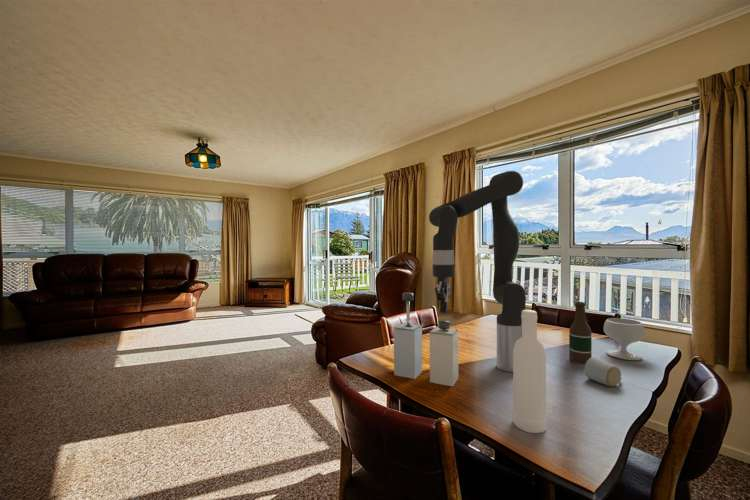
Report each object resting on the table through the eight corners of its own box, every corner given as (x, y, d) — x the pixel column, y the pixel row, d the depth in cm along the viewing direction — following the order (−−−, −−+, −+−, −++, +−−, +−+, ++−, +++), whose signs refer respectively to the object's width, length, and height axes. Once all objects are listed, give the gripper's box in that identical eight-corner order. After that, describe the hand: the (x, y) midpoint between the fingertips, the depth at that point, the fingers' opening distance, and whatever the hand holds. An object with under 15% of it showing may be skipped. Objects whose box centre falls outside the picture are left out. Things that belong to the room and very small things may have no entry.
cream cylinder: (608, 389, 104) (608, 366, 104) (583, 379, 112) (584, 358, 112) (628, 384, 108) (629, 362, 108) (603, 375, 116) (603, 354, 116)
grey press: (422, 371, 120) (422, 324, 120) (414, 379, 113) (414, 329, 113) (402, 367, 124) (402, 322, 124) (394, 375, 117) (393, 327, 117)
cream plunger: (454, 361, 113) (454, 320, 113) (450, 367, 108) (450, 323, 108) (438, 358, 116) (438, 318, 116) (433, 364, 111) (433, 321, 111)
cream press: (458, 377, 114) (458, 329, 114) (452, 386, 107) (452, 334, 107) (436, 373, 118) (436, 326, 117) (429, 382, 111) (429, 331, 110)
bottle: (552, 427, 82) (552, 311, 82) (535, 437, 78) (535, 315, 78) (524, 414, 89) (524, 307, 89) (506, 422, 85) (506, 310, 85)
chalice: (599, 349, 144) (599, 316, 144) (637, 352, 139) (637, 318, 139) (609, 359, 131) (609, 323, 131) (651, 363, 126) (651, 326, 126)
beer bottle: (571, 363, 128) (571, 303, 128) (567, 356, 135) (567, 300, 135) (594, 365, 125) (594, 304, 125) (589, 359, 132) (589, 301, 132)
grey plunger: (418, 332, 120) (418, 292, 119) (412, 336, 114) (412, 295, 114) (403, 330, 122) (403, 291, 122) (397, 334, 117) (397, 293, 117)
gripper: (449, 264, 104) (449, 317, 104) (458, 262, 116) (458, 309, 116) (427, 264, 108) (427, 315, 108) (438, 262, 119) (438, 308, 120)
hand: (443, 312), depth 112 cm, fingers closed
